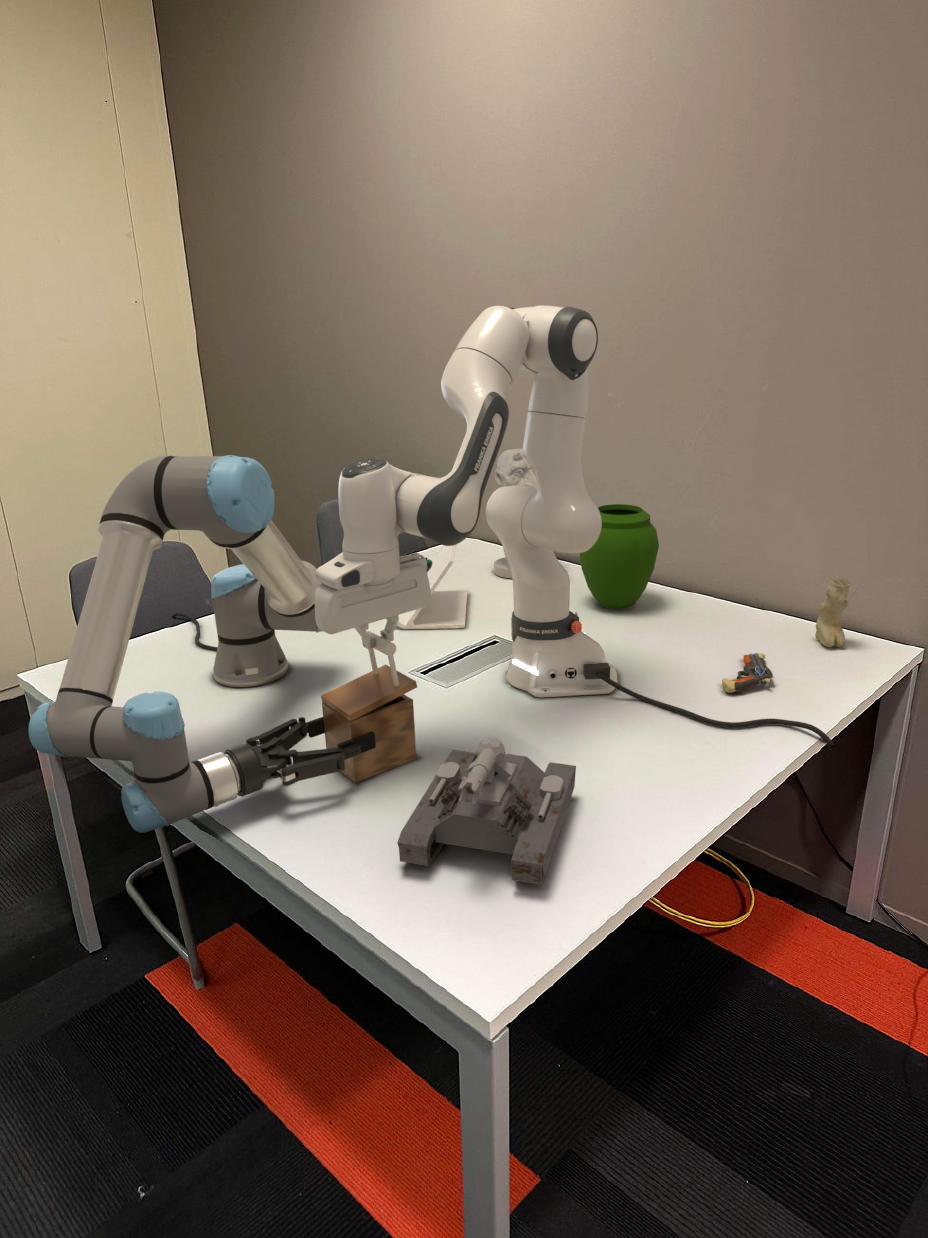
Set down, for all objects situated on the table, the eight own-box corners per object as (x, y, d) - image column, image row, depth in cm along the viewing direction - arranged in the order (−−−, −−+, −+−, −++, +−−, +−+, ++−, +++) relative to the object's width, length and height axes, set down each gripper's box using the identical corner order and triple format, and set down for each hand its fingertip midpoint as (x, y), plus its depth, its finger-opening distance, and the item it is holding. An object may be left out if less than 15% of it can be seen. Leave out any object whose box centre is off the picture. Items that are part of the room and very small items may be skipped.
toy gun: (724, 683, 164) (779, 680, 162) (715, 651, 182) (764, 648, 180) (725, 696, 165) (779, 693, 163) (715, 663, 183) (764, 660, 180)
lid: (387, 670, 149) (377, 623, 145) (417, 687, 142) (408, 638, 138) (322, 701, 142) (309, 653, 138) (350, 721, 135) (338, 671, 131)
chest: (386, 738, 153) (383, 681, 149) (416, 758, 146) (413, 699, 142) (327, 761, 146) (321, 702, 142) (355, 783, 139) (350, 722, 135)
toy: (454, 776, 139) (451, 693, 134) (575, 793, 134) (577, 707, 129) (398, 871, 117) (392, 776, 112) (542, 895, 111) (542, 796, 106)
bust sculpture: (503, 593, 225) (502, 460, 212) (483, 567, 247) (480, 445, 234) (562, 587, 228) (563, 456, 215) (536, 562, 250) (536, 441, 237)
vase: (599, 587, 227) (601, 497, 218) (668, 600, 216) (673, 505, 208) (562, 608, 212) (564, 513, 204) (634, 623, 202) (639, 523, 193)
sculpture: (821, 649, 184) (830, 583, 179) (808, 637, 191) (816, 573, 185) (848, 649, 184) (858, 582, 179) (834, 636, 191) (843, 572, 185)
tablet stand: (467, 593, 225) (465, 531, 219) (465, 628, 202) (462, 559, 196) (399, 594, 226) (395, 532, 220) (388, 629, 203) (384, 560, 197)
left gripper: (206, 767, 139) (327, 725, 152) (265, 827, 123) (395, 774, 135) (199, 726, 136) (323, 686, 149) (259, 782, 120) (393, 732, 133)
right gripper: (414, 546, 143) (419, 623, 148) (305, 572, 132) (314, 655, 137) (436, 554, 139) (440, 633, 144) (325, 582, 127) (334, 667, 132)
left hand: (358, 728), depth 142 cm, fingers closed on chest, 9 cm apart
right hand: (378, 644), depth 140 cm, fingers closed on lid, 2 cm apart
